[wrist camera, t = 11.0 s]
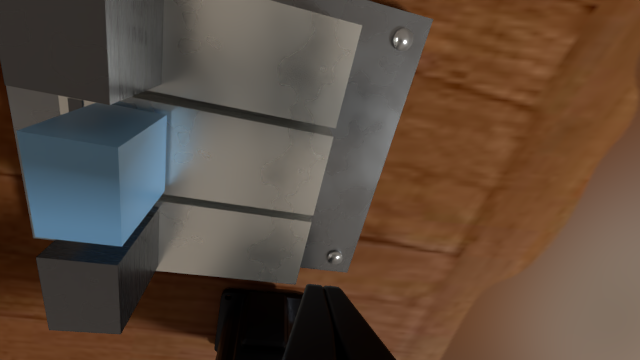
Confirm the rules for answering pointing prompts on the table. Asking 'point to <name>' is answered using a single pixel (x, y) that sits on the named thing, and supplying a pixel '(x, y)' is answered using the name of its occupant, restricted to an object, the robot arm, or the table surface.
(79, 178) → the blue toggle
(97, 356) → the table surface
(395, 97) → the breaker board
